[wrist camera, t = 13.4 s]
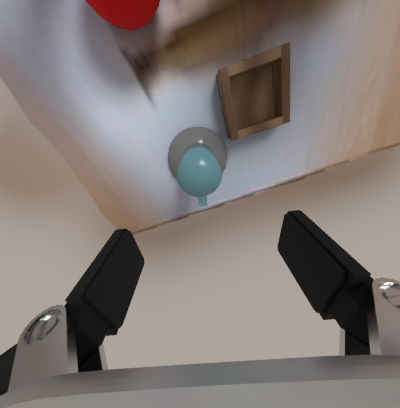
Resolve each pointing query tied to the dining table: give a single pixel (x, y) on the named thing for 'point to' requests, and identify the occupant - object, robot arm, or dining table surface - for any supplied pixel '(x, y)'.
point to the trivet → (190, 138)
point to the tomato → (125, 12)
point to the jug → (199, 172)
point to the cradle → (256, 92)
